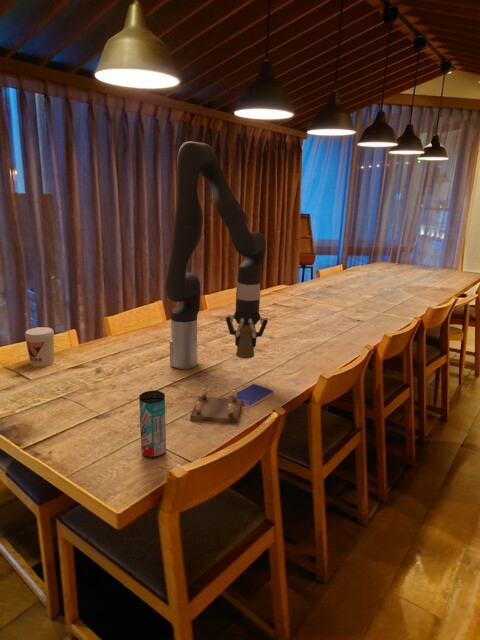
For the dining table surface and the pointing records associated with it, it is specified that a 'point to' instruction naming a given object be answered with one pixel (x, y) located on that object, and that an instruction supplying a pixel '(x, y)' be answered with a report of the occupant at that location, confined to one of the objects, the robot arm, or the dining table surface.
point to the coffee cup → (40, 346)
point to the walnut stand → (216, 408)
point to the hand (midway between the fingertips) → (245, 347)
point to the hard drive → (253, 394)
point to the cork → (245, 343)
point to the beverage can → (152, 423)
